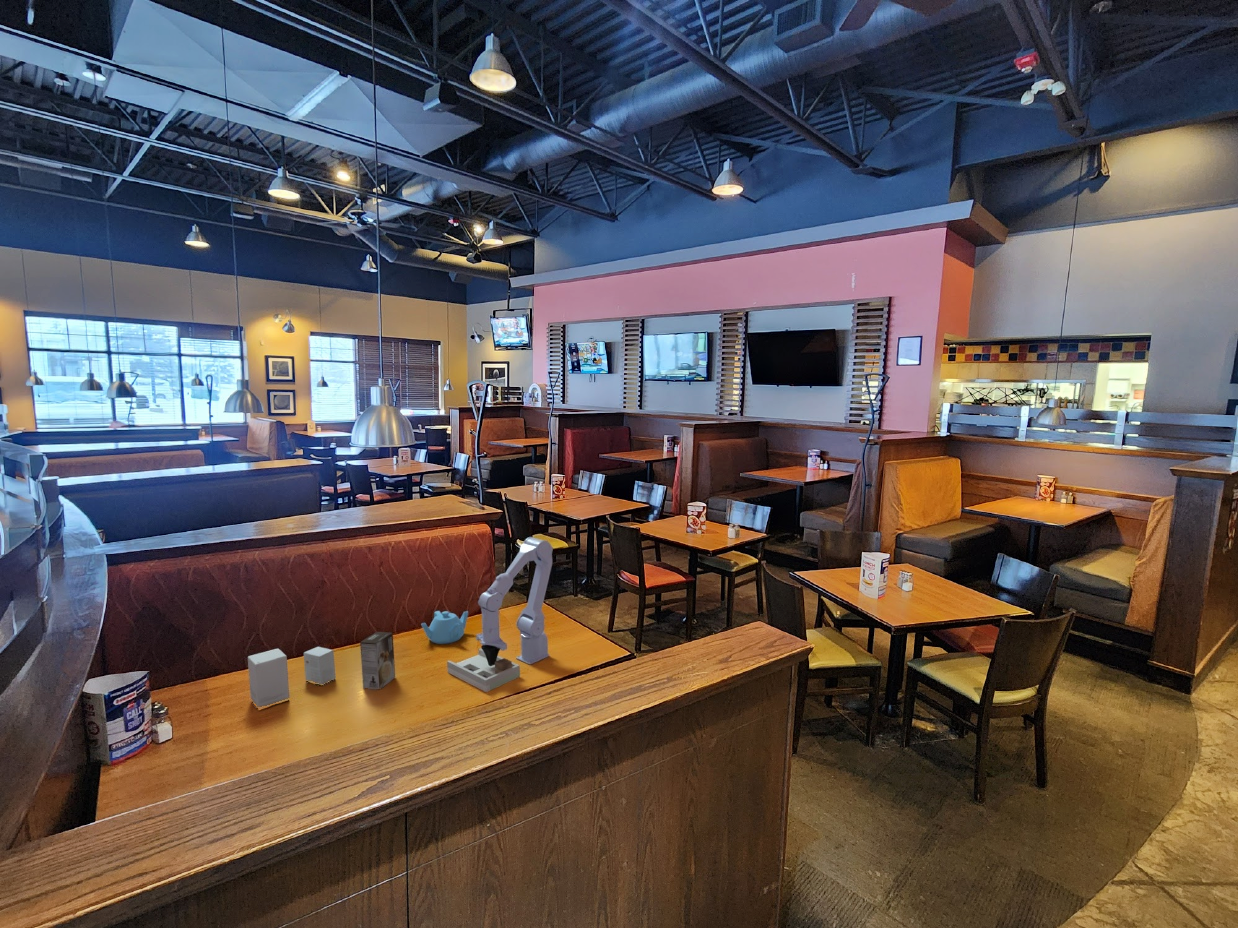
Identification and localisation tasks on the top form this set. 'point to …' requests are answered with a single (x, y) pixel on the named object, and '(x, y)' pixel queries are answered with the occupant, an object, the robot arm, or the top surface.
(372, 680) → the coffee box
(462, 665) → the tray
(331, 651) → the small box
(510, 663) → the walnut block
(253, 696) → the supplement box
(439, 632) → the teapot
